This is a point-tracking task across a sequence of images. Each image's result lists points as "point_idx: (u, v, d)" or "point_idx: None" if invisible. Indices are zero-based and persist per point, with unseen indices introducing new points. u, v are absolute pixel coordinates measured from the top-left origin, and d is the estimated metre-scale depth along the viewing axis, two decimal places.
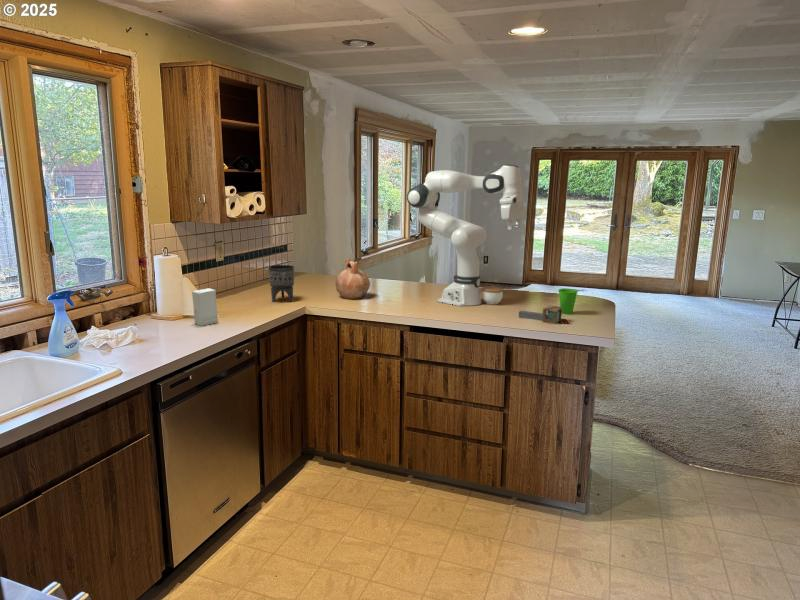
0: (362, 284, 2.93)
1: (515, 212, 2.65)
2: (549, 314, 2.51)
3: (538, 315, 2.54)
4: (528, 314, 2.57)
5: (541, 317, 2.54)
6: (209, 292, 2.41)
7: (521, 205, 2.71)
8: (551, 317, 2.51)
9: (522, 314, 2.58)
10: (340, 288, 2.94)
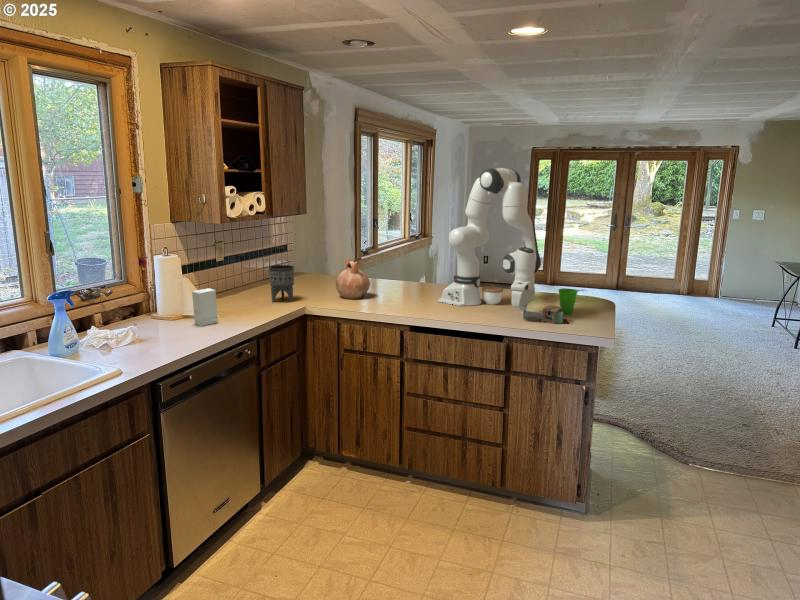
0: (362, 284, 2.93)
1: (526, 298, 2.56)
2: None
3: None
4: (533, 314, 2.55)
5: (547, 317, 2.52)
6: (209, 292, 2.41)
7: (532, 288, 2.62)
8: None
9: (527, 315, 2.56)
10: (340, 288, 2.94)
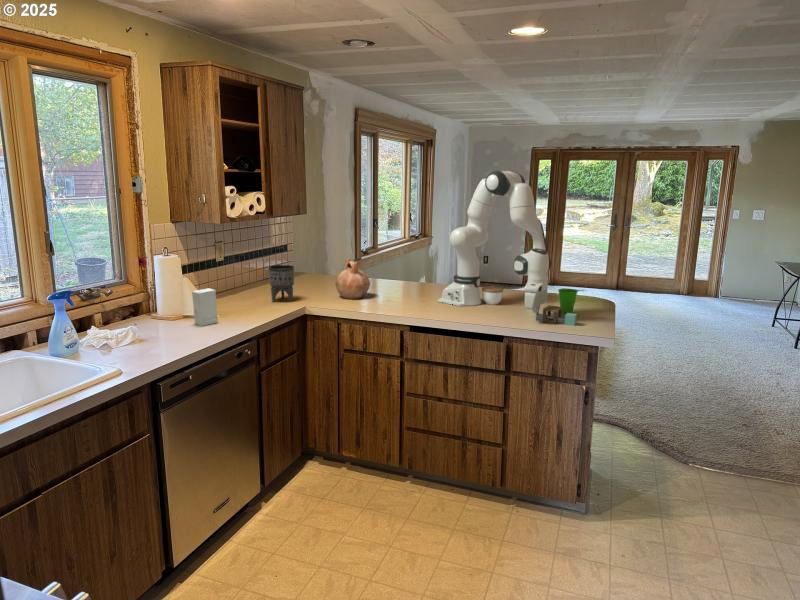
0: (362, 284, 2.93)
1: (539, 299, 2.53)
2: (567, 317, 2.46)
3: None
4: (546, 317, 2.52)
5: (559, 320, 2.49)
6: (209, 292, 2.41)
7: (545, 290, 2.59)
8: (569, 320, 2.46)
9: (539, 318, 2.53)
10: (340, 288, 2.94)
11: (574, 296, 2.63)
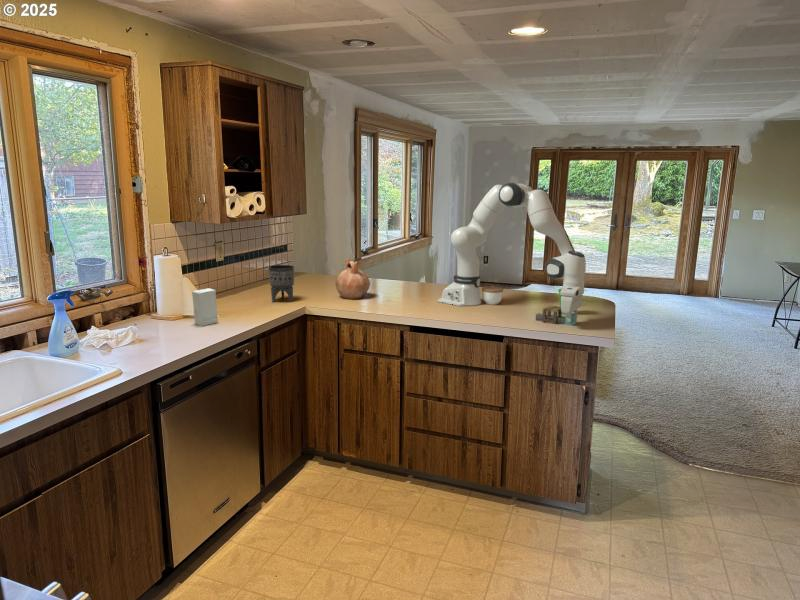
0: (362, 284, 2.93)
1: (575, 304, 2.44)
2: None
3: None
4: (546, 317, 2.52)
5: (559, 320, 2.49)
6: (209, 292, 2.41)
7: (581, 294, 2.50)
8: None
9: (539, 317, 2.53)
10: (340, 288, 2.94)
11: None
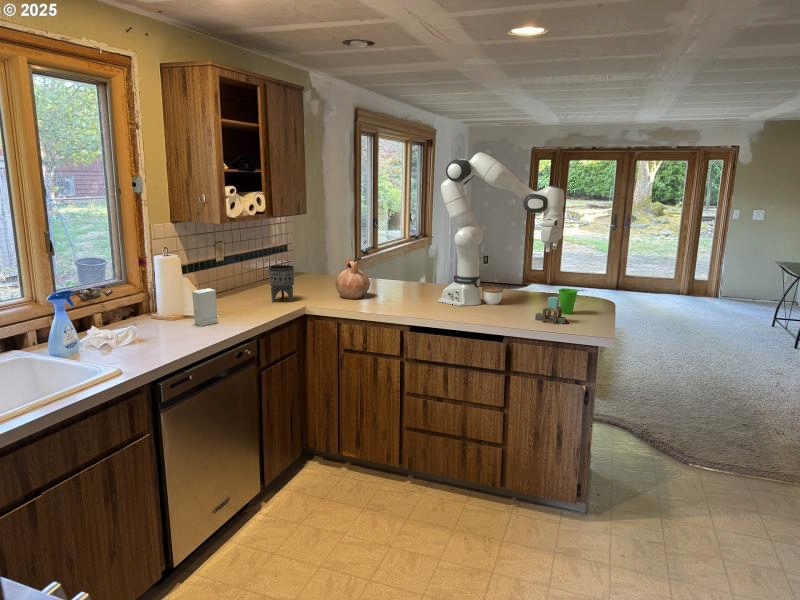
0: (362, 284, 2.93)
1: (554, 234, 2.62)
2: (549, 300, 2.50)
3: None
4: None
5: (557, 320, 2.49)
6: (209, 292, 2.41)
7: (560, 227, 2.68)
8: (551, 303, 2.50)
9: (539, 317, 2.54)
10: (340, 288, 2.94)
11: (574, 296, 2.63)
